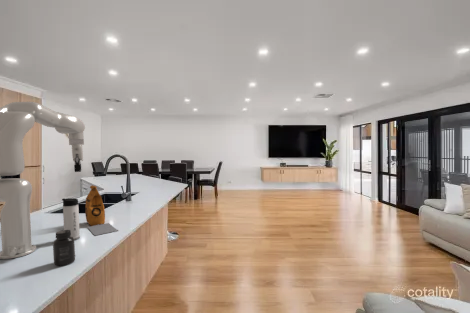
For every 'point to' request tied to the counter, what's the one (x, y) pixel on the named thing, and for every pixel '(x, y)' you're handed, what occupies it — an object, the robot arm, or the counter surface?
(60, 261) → the supplement bottle
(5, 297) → the counter surface
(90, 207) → the coffee package
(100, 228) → the mat
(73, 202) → the travel mug
